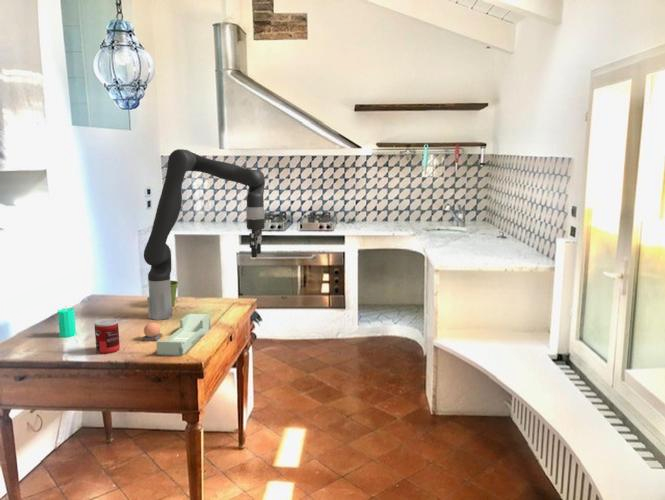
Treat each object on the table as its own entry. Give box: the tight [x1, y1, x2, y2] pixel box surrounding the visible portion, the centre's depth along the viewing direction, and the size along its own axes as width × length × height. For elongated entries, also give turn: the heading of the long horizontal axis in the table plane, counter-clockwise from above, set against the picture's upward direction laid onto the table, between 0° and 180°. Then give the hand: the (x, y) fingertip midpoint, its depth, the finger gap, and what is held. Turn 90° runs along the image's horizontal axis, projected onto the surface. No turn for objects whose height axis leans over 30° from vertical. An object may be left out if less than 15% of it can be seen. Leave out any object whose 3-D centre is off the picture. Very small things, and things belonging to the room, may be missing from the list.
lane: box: [155, 313, 211, 357], centre depth 202 cm, size 9×32×6 cm, turn 174°
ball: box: [143, 321, 161, 337], centre depth 204 cm, size 6×6×6 cm
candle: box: [57, 306, 77, 339], centre depth 208 cm, size 6×6×12 cm
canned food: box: [94, 318, 121, 355], centre depth 191 cm, size 8×8×11 cm
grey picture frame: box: [142, 333, 163, 342], centre depth 205 cm, size 6×6×1 cm
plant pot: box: [170, 279, 180, 307], centre depth 250 cm, size 12×12×11 cm
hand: (256, 255), depth 224 cm, fingers open, 8 cm apart
